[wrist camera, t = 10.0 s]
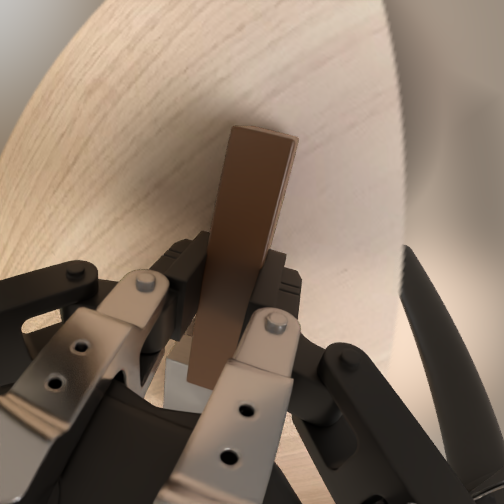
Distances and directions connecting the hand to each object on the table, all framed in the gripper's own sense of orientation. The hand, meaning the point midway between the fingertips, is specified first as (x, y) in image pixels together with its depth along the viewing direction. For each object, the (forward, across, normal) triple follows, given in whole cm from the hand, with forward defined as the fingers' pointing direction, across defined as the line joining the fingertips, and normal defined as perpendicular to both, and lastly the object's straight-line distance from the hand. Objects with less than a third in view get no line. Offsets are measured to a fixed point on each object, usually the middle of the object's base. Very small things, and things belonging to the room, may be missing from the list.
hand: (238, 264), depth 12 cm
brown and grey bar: (+1, 0, +4) cm, 4 cm away
